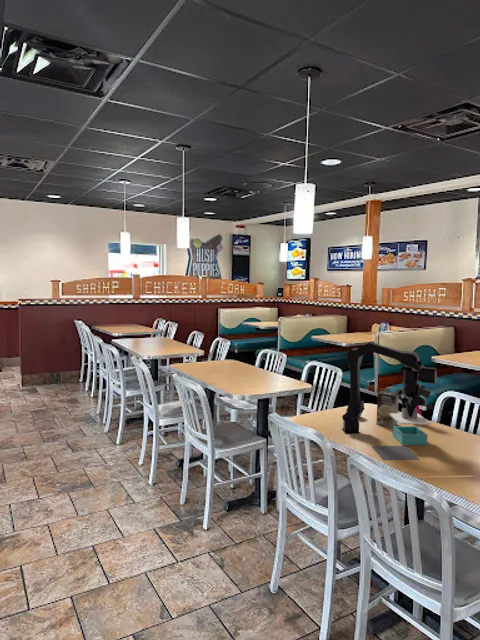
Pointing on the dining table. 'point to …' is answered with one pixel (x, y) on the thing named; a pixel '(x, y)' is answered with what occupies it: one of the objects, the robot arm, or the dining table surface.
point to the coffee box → (386, 408)
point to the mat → (395, 453)
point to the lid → (405, 419)
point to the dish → (409, 435)
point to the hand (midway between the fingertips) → (409, 415)
